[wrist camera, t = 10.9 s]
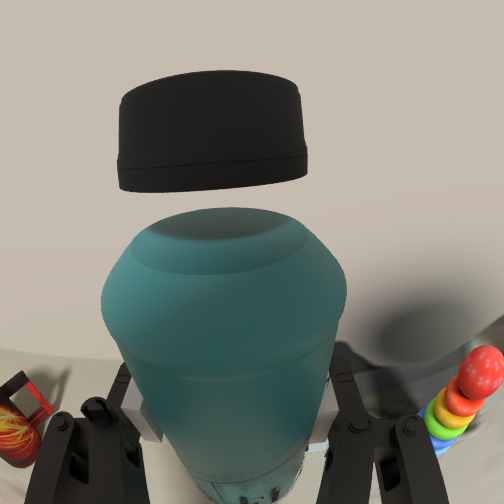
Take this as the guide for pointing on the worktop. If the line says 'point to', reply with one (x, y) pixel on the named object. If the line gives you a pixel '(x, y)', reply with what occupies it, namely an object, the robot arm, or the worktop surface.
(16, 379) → the mug
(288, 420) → the beverage bottle
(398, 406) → the worktop surface
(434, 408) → the stacking toy
